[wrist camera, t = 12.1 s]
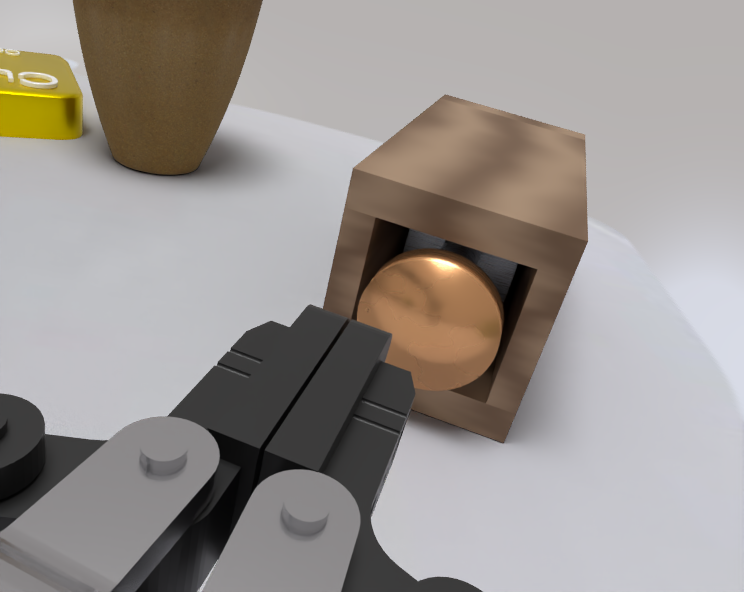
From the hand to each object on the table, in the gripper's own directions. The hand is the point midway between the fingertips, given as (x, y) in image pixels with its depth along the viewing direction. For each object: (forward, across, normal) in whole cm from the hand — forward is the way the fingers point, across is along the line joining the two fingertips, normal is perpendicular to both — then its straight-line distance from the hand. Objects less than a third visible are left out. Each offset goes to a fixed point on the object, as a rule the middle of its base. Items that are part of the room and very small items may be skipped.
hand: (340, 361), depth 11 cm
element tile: (+40, +46, +17) cm, 64 cm away
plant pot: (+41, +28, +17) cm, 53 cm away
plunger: (+28, 0, +13) cm, 31 cm away
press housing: (+31, 0, +16) cm, 35 cm away
